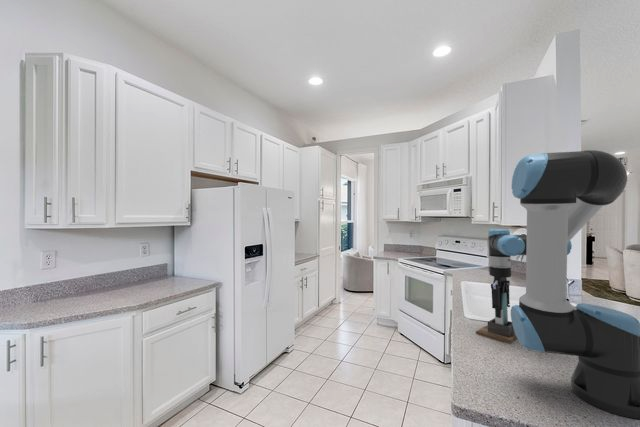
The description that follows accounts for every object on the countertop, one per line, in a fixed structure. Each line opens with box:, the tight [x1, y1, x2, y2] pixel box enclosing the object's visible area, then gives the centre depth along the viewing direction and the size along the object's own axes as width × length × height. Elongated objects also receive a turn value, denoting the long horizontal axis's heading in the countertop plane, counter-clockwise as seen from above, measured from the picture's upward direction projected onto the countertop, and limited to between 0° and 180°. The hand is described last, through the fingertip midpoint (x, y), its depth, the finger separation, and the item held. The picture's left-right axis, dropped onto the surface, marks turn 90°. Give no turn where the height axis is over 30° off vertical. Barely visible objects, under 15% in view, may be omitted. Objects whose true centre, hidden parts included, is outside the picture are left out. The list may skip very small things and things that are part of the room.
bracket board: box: [475, 317, 518, 345], centre depth 113 cm, size 14×12×5 cm
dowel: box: [502, 293, 508, 326], centre depth 112 cm, size 4×4×14 cm
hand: (501, 323), depth 112 cm, fingers closed on dowel, 4 cm apart
